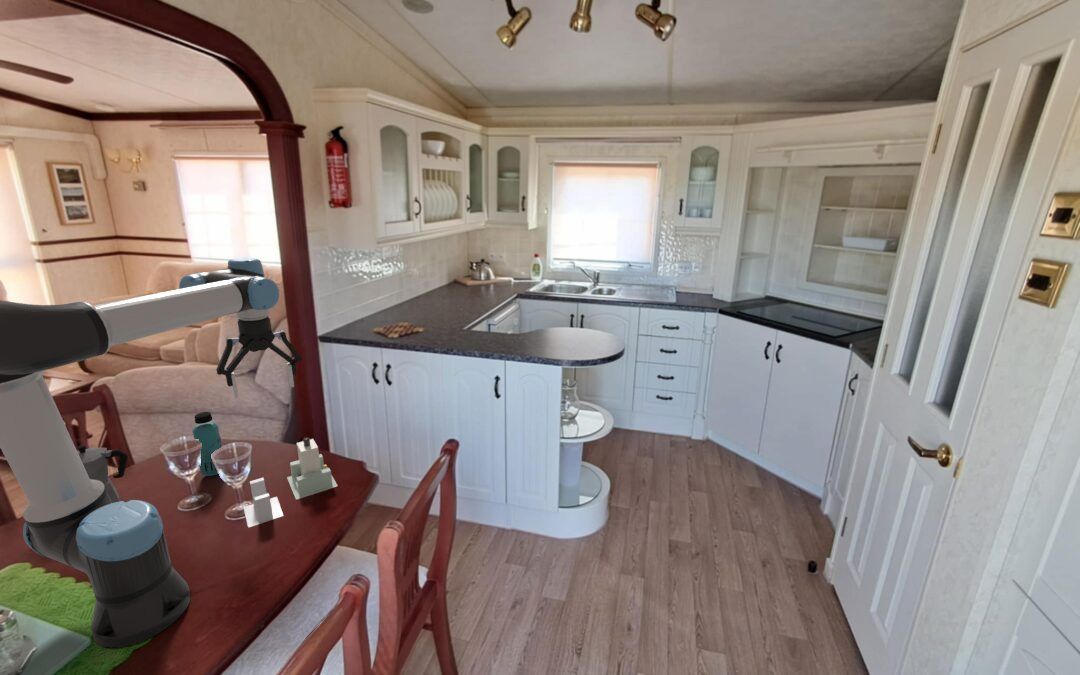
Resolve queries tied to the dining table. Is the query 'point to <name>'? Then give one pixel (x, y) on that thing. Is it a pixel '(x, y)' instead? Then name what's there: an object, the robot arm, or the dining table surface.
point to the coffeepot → (102, 466)
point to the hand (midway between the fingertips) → (265, 390)
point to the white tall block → (308, 456)
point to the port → (310, 480)
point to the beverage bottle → (207, 441)
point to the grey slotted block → (261, 505)
